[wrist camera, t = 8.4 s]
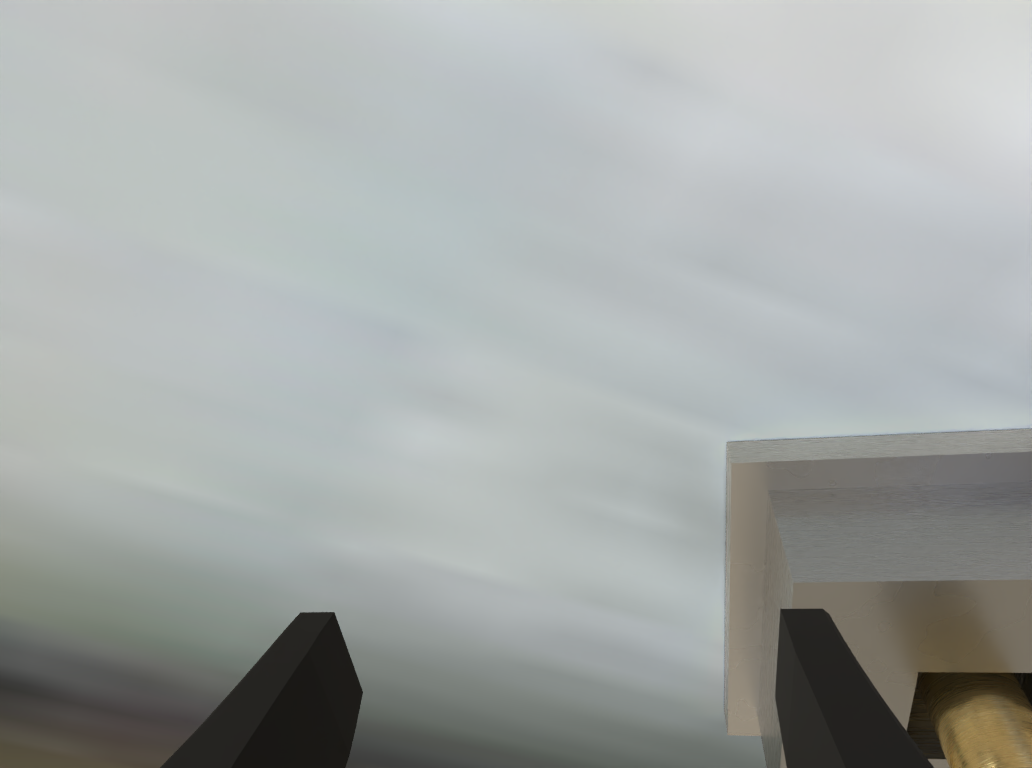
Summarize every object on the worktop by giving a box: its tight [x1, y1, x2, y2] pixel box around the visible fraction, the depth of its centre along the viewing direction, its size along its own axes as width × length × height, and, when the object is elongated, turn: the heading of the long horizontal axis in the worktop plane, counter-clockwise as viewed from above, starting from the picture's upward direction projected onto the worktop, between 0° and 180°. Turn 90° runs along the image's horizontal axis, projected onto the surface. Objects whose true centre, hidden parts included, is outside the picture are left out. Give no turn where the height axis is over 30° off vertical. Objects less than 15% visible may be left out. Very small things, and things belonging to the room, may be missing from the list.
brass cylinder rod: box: [916, 672, 1032, 768], centre depth 19 cm, size 2×2×8 cm
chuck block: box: [724, 429, 1032, 768], centre depth 22 cm, size 12×12×4 cm
